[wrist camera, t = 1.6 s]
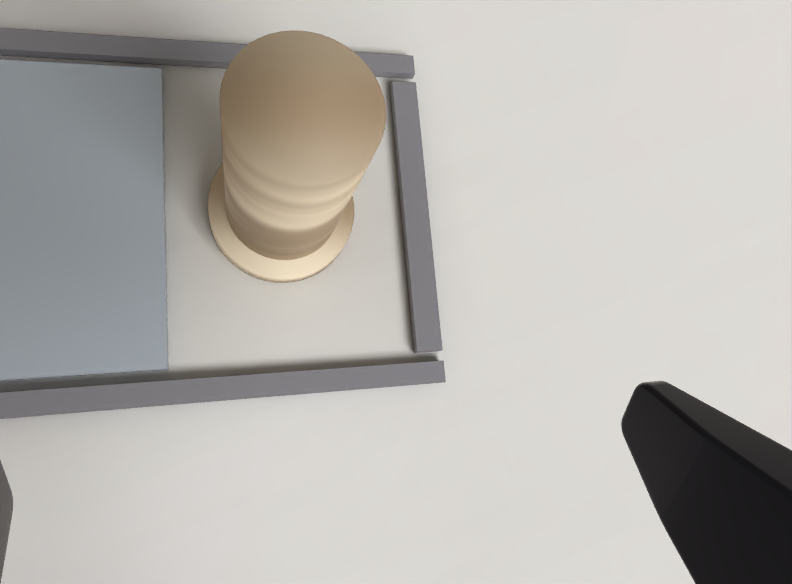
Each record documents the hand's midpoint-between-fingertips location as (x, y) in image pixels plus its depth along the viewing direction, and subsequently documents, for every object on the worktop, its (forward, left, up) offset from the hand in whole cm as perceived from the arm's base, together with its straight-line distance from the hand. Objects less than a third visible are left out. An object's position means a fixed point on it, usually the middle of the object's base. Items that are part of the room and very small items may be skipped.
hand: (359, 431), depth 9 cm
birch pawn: (+8, 0, -13) cm, 15 cm away
